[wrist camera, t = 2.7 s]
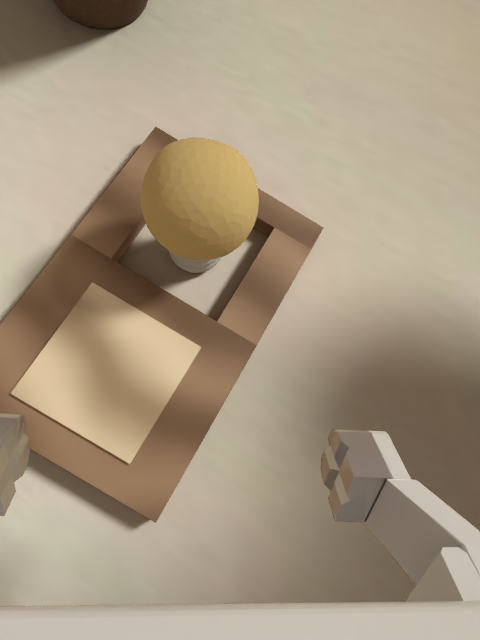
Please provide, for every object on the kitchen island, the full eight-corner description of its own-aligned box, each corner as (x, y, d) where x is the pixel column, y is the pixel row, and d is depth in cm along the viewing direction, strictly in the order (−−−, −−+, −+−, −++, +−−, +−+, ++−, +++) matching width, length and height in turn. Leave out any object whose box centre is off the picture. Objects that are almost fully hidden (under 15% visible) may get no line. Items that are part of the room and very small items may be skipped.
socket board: (156, 140, 30) (155, 124, 29) (316, 236, 31) (324, 226, 29) (-43, 398, 24) (-59, 397, 23) (156, 516, 25) (155, 523, 23)
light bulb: (241, 215, 30) (271, 121, 20) (237, 297, 29) (268, 237, 19) (154, 205, 29) (142, 101, 20) (144, 289, 28) (127, 222, 18)
